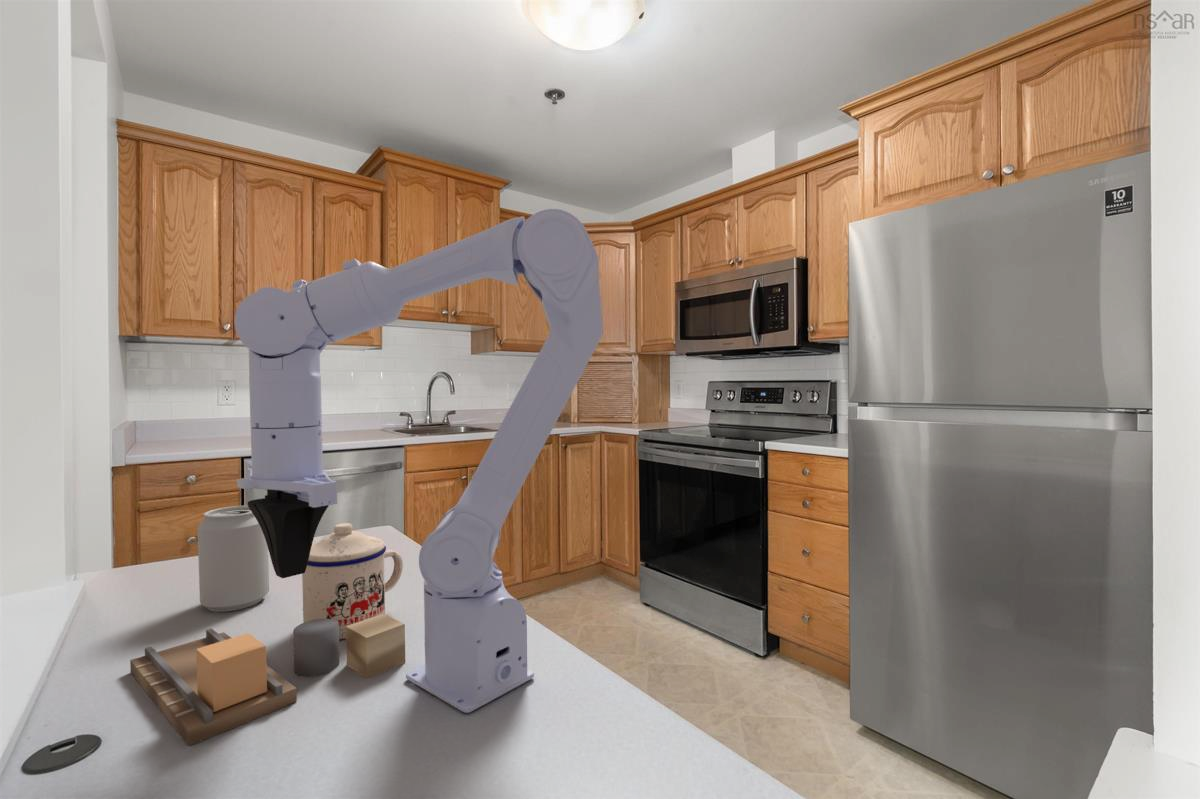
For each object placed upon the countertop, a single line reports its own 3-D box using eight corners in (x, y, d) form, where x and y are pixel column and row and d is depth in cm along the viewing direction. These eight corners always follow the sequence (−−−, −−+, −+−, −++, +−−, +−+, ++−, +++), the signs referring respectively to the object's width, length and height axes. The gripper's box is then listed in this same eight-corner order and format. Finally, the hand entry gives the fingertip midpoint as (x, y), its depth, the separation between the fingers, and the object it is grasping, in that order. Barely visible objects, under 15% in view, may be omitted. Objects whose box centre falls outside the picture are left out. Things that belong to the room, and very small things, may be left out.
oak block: (405, 663, 58) (404, 623, 58) (367, 679, 55) (366, 637, 55) (384, 651, 61) (383, 613, 60) (346, 666, 57) (345, 626, 57)
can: (282, 592, 77) (279, 503, 77) (242, 615, 70) (239, 516, 70) (229, 591, 78) (227, 502, 78) (184, 613, 71) (181, 515, 70)
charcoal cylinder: (346, 665, 57) (345, 625, 57) (305, 681, 54) (304, 639, 54) (327, 653, 60) (327, 615, 60) (287, 668, 57) (286, 628, 57)
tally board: (296, 701, 51) (296, 679, 51) (188, 746, 45) (187, 720, 45) (224, 643, 62) (223, 624, 62) (129, 672, 56) (129, 651, 56)
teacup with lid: (327, 650, 61) (324, 539, 60) (286, 628, 66) (283, 527, 66) (424, 613, 70) (422, 517, 70) (381, 596, 76) (379, 507, 75)
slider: (267, 691, 50) (265, 645, 50) (213, 712, 47) (212, 663, 47) (249, 676, 53) (248, 633, 52) (197, 695, 50) (196, 648, 49)
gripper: (209, 425, 54) (213, 569, 55) (272, 433, 45) (276, 606, 46) (288, 421, 60) (291, 551, 60) (359, 427, 51) (362, 582, 51)
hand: (290, 574), depth 53 cm, fingers closed
